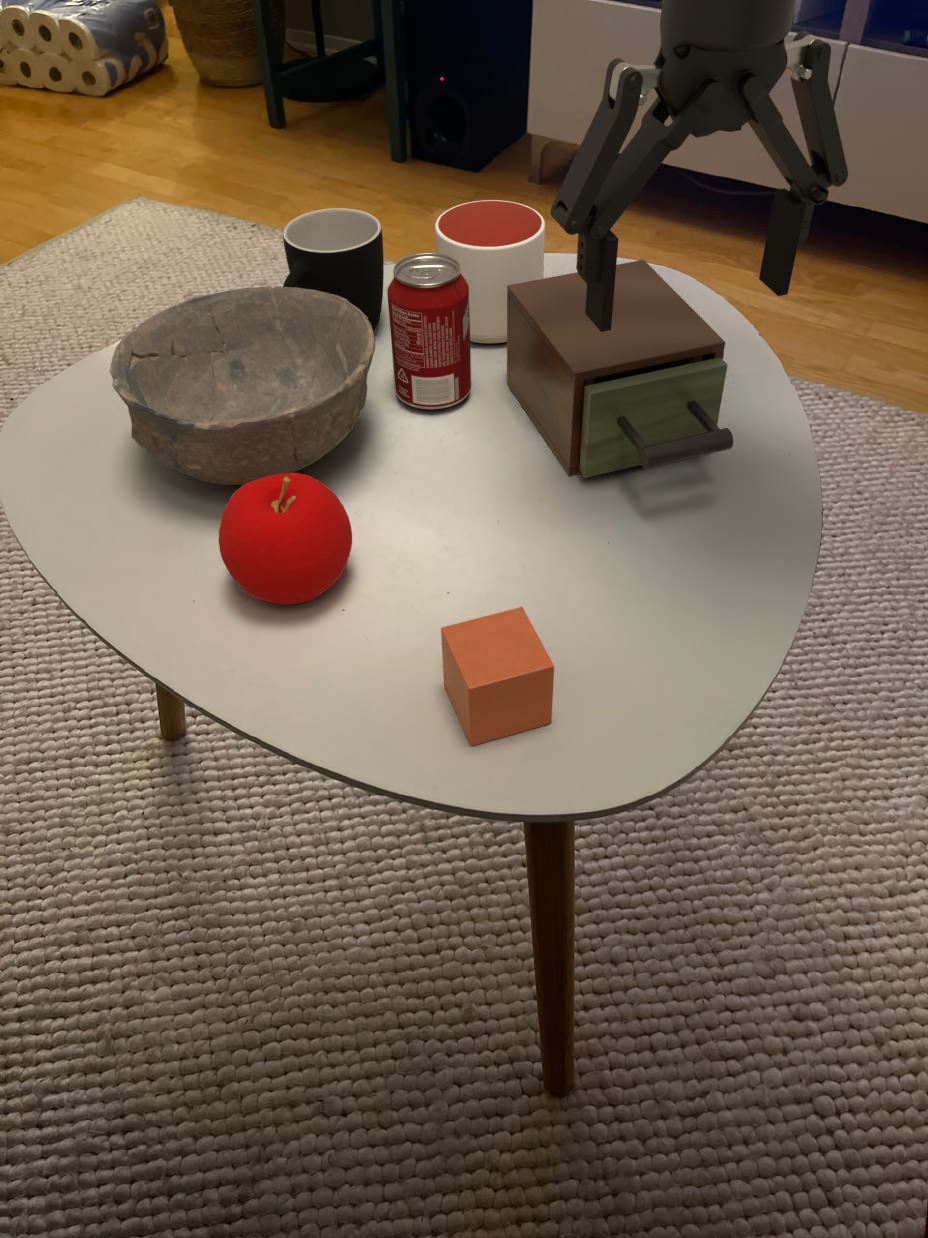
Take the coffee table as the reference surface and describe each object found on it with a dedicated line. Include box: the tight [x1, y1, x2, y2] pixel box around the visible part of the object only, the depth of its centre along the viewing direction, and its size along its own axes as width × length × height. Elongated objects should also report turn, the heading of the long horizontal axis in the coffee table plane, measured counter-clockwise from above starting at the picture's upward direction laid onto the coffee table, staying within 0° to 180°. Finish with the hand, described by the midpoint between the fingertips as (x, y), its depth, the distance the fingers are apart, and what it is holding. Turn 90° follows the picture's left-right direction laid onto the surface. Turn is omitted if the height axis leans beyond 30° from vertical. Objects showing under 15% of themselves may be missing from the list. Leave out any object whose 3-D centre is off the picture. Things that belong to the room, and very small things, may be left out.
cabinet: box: [506, 259, 726, 477], centre depth 89 cm, size 15×13×10 cm
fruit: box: [218, 472, 353, 605], centre depth 75 cm, size 9×9×10 cm
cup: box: [434, 199, 546, 344], centre depth 100 cm, size 10×10×10 cm
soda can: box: [386, 252, 472, 411], centre depth 91 cm, size 7×7×12 cm
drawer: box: [579, 355, 734, 478], centre depth 86 cm, size 19×11×8 cm, turn 19°
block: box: [440, 606, 555, 747], centre depth 68 cm, size 6×6×6 cm
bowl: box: [109, 285, 376, 486], centre depth 86 cm, size 21×21×10 cm
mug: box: [282, 207, 385, 333], centre depth 99 cm, size 12×9×10 cm
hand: (687, 304), depth 75 cm, fingers open, 13 cm apart
